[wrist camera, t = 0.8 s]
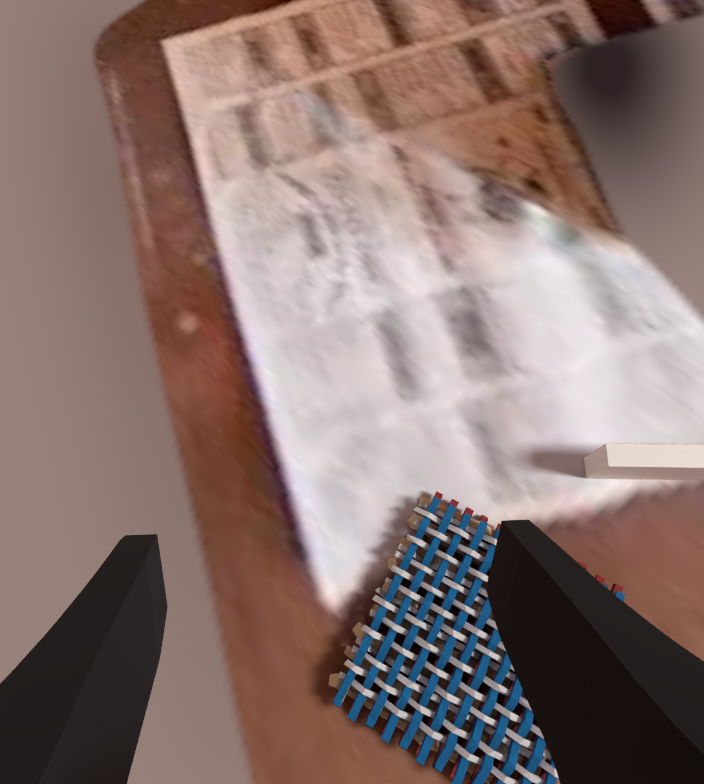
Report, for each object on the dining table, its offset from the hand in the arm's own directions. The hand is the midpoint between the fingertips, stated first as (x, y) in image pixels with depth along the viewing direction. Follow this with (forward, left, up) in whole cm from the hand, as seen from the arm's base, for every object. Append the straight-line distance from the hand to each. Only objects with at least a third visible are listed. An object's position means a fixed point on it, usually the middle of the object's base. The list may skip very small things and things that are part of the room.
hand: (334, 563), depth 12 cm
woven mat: (-3, -5, -16) cm, 17 cm away
